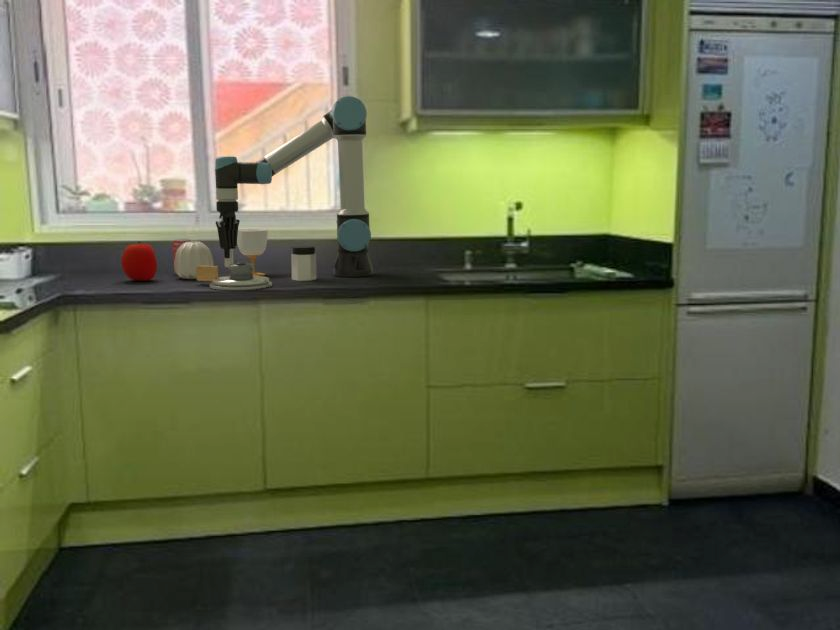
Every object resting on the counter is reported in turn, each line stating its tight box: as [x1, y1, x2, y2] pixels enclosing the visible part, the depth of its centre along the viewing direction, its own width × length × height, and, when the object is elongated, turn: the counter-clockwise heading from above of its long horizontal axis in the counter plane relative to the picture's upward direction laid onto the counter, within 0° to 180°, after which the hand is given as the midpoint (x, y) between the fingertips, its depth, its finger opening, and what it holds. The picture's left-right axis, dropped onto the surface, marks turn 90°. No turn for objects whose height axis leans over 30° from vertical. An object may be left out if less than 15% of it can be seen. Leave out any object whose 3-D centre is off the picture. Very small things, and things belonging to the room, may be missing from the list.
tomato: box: [120, 241, 158, 282], centre depth 294 cm, size 13×11×14 cm
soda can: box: [172, 238, 192, 275], centre depth 315 cm, size 7×7×13 cm
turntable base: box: [209, 280, 273, 292], centre depth 282 cm, size 21×21×1 cm
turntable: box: [196, 265, 270, 286], centre depth 283 cm, size 26×19×5 cm
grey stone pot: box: [228, 261, 253, 281], centre depth 282 cm, size 8×8×6 cm
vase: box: [173, 240, 215, 280], centre depth 302 cm, size 14×14×13 cm
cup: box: [237, 228, 268, 277], centre depth 311 cm, size 12×12×17 cm
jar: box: [290, 245, 317, 282], centre depth 299 cm, size 9×8×12 cm
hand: (229, 266), depth 295 cm, fingers closed
